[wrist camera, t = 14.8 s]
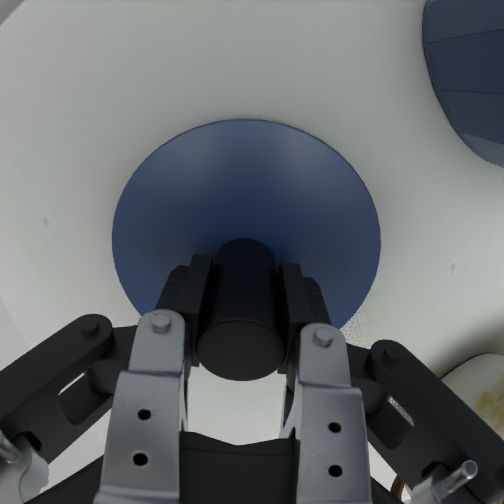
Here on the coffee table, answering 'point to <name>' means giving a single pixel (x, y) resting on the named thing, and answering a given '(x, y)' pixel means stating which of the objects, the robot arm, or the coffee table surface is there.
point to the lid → (247, 233)
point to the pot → (469, 69)
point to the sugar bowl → (475, 396)
